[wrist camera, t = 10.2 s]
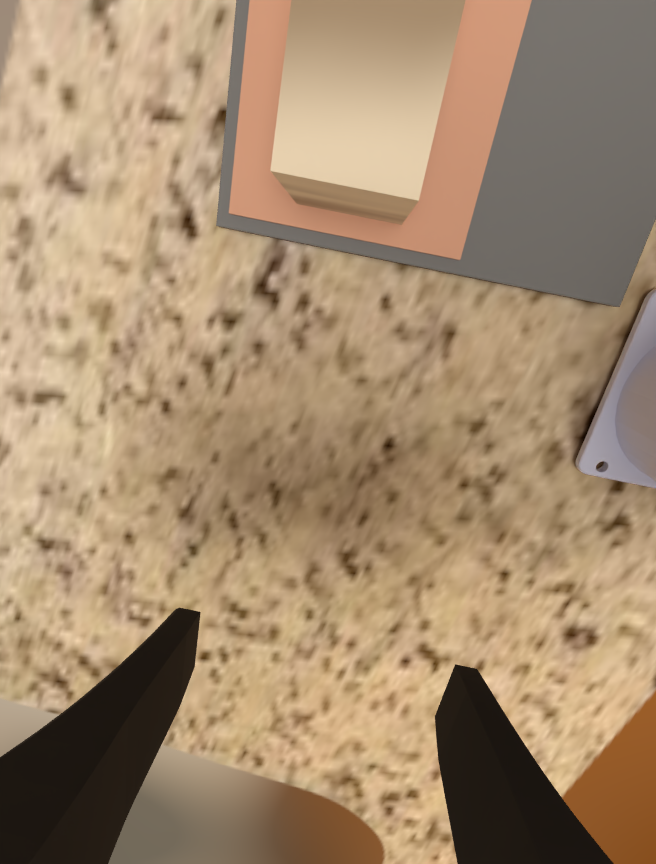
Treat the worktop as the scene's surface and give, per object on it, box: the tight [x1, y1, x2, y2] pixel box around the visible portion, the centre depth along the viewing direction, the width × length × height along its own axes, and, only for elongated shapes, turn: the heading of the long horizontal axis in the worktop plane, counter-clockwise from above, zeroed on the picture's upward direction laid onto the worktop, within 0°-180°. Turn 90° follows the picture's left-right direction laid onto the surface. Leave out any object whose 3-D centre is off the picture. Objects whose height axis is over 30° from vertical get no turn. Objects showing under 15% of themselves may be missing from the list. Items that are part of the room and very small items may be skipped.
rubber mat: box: [216, 0, 656, 307], centre depth 14 cm, size 16×16×1 cm
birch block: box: [270, 0, 465, 225], centre depth 12 cm, size 7×4×5 cm, turn 169°
